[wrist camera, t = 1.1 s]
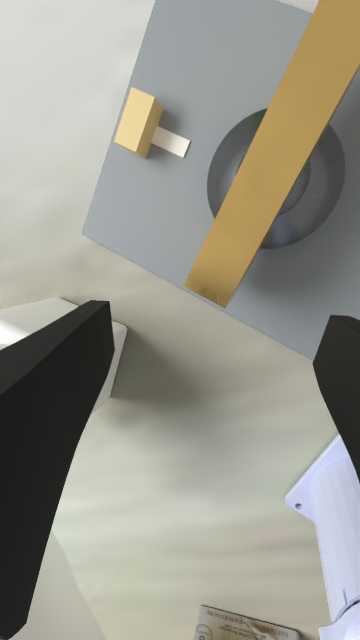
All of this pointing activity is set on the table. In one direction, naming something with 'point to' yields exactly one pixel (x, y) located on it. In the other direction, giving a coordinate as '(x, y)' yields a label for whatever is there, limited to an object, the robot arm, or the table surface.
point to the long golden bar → (281, 158)
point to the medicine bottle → (31, 317)
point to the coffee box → (237, 627)
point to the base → (197, 153)
